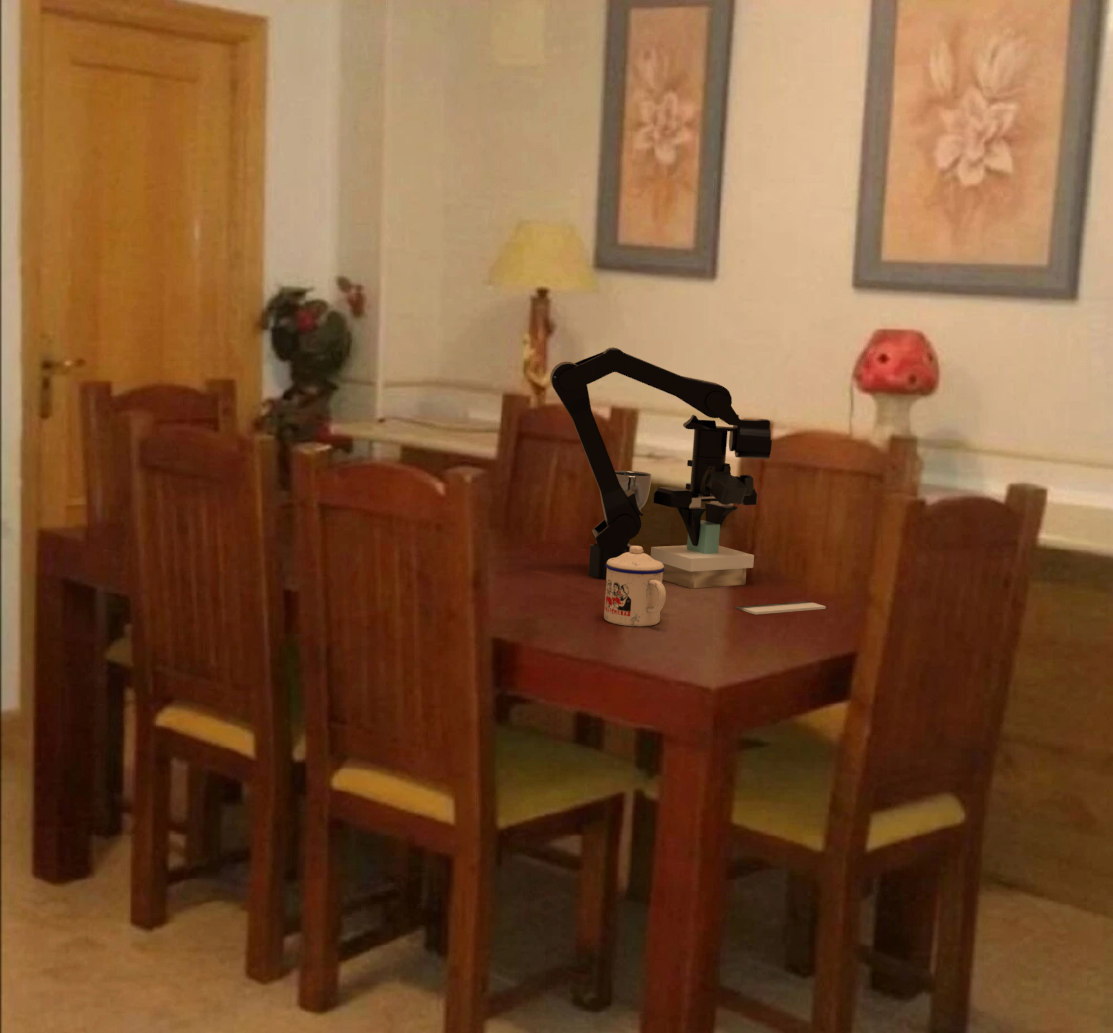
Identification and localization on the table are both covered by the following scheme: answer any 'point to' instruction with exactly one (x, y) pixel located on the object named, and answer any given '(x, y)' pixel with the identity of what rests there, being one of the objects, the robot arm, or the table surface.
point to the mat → (781, 607)
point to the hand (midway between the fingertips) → (702, 545)
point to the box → (704, 577)
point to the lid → (703, 553)
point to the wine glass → (635, 485)
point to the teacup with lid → (634, 589)
